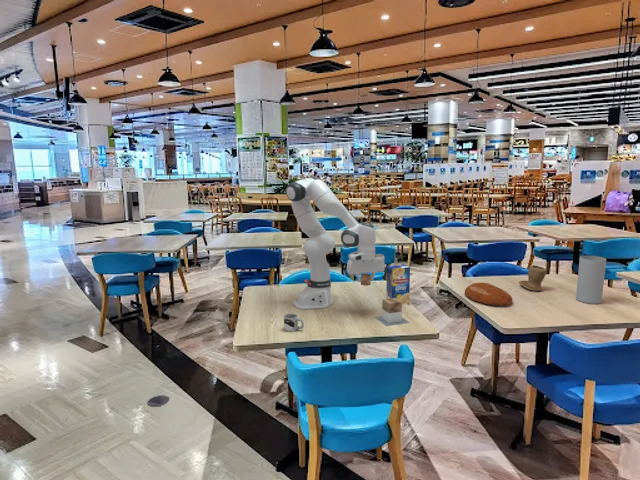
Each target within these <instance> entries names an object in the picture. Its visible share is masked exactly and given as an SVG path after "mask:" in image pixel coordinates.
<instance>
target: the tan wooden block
mask: <svg viewBox="0 0 640 480" xmlns="http://www.w3.org/2000/svg"><path fill="white" fill-rule="evenodd" d="M381 305H382V308H381V310H382V309H383V310H385V311H386V312H388V313H396V312H402V309H403V307H402V306H403V304H402V302H401V301H399V300H398V299H396V298H390V299H386V298H383V299H382V304H381ZM402 313H403V312H402Z"/></svg>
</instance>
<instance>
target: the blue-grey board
mask: <svg viewBox="0 0 640 480" xmlns="http://www.w3.org/2000/svg"><path fill="white" fill-rule="evenodd" d="M374 319H376V320H377V321H378V322H380V323H381V324H383V325H384V326H385V327H390V326H397V325H398V326H399V325H403V324H411V322H410V321H408V320H407V319H405V318H403V317H402V321H400V322H394V323H388V322H386V321H385V320H384V319H382V315H380V316H375V317H374Z"/></svg>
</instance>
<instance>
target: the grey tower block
mask: <svg viewBox="0 0 640 480" xmlns="http://www.w3.org/2000/svg"><path fill="white" fill-rule="evenodd" d="M402 313H403V312H396V313H388V312H386V311H385V310H383V309H382V308H381V314H382V315H381V316H382V319H384V320H385V321H386V322H388V323H394V322H400V321H402V318H403V317H402Z"/></svg>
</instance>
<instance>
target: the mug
mask: <svg viewBox="0 0 640 480" xmlns="http://www.w3.org/2000/svg"><path fill="white" fill-rule="evenodd" d="M299 322H301V326H299ZM283 328H284V331H285V332H288V333H292V332H296V331H298V330H302V329H304V319H302V318H300V317H299V316H298V314H296V313H287V314H284V315H283Z"/></svg>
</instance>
